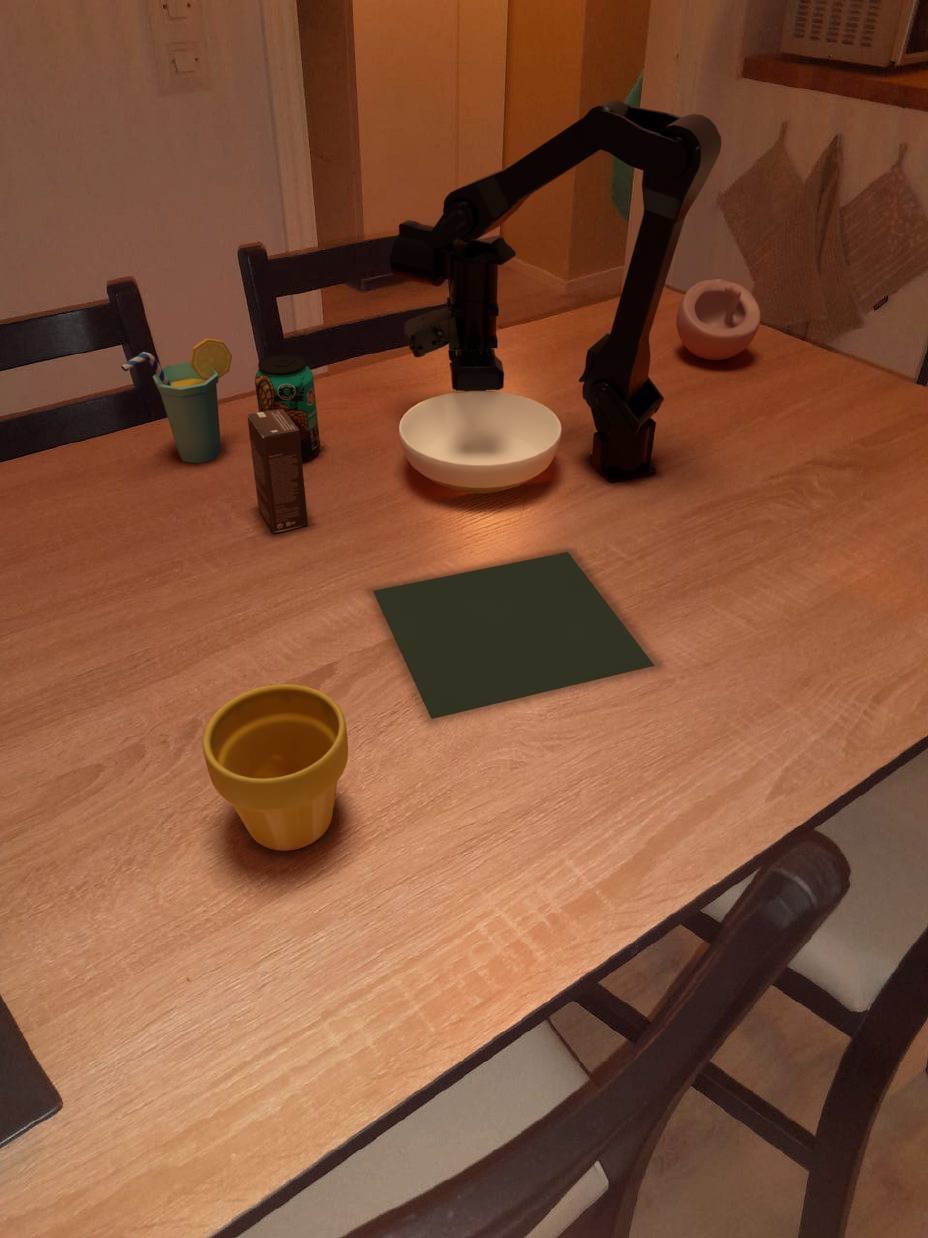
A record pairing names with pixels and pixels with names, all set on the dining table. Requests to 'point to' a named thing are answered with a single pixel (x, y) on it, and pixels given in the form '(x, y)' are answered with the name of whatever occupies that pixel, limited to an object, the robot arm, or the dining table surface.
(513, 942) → the dining table surface
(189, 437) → the cup
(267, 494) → the box
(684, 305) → the mortar and pestle
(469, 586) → the mat
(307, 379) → the green cylinder
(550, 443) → the bowl
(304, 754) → the flower pot
